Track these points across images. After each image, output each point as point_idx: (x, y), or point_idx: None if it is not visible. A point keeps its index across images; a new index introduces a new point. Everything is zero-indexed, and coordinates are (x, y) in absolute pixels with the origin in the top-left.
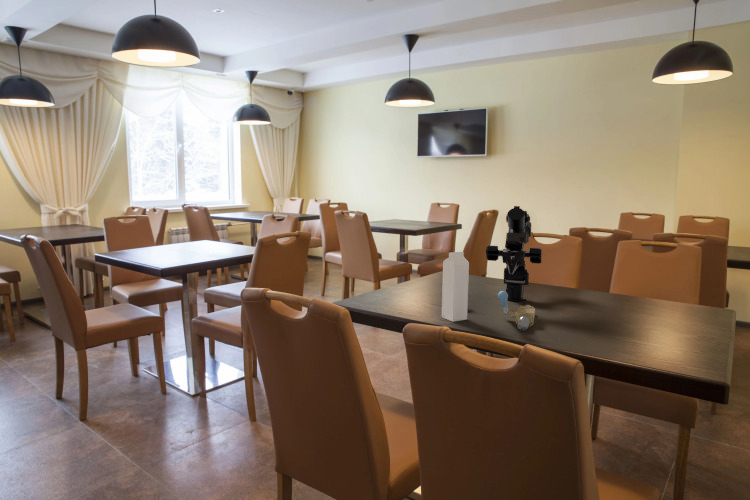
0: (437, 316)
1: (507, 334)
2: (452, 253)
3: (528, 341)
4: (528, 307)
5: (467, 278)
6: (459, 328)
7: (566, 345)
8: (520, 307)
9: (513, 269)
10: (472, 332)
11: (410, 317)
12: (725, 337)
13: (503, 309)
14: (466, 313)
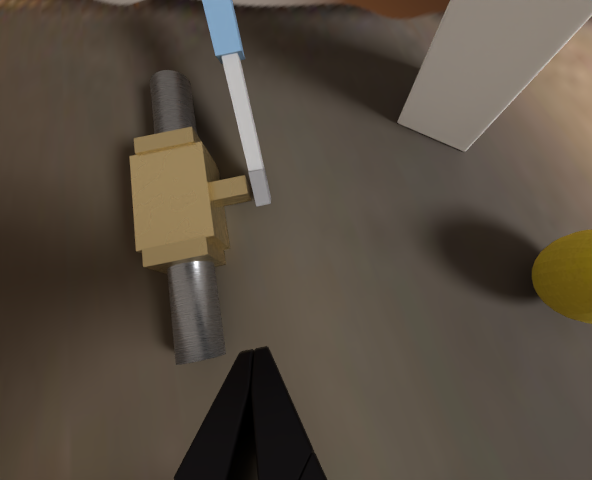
0: None
1: None
2: None
3: (145, 20)
4: (166, 245)
5: None
6: (367, 20)
7: (44, 44)
8: (201, 226)
9: (223, 387)
10: (314, 7)
11: (582, 36)
12: None
13: (251, 110)
14: (405, 103)
